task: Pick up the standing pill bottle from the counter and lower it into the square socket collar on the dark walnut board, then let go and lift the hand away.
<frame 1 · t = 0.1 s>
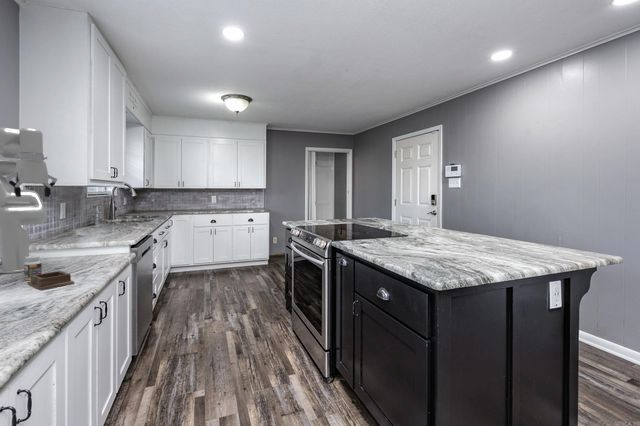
hand: (33, 196, 136), 37 cm above the countertop, tool pointing down, fingers open, 9 cm apart
pill bottle: (33, 279, 138), on the countertop
socket board: (51, 284, 130), on the countertop
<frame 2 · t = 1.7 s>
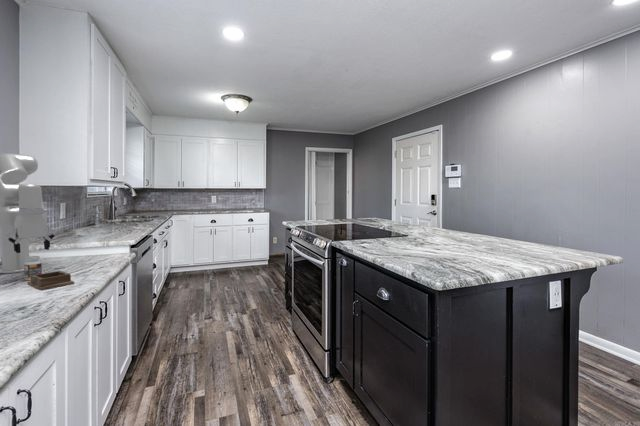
hand: (32, 251, 136), 13 cm above the countertop, tool pointing down, fingers open, 9 cm apart
nothing on the countertop moved.
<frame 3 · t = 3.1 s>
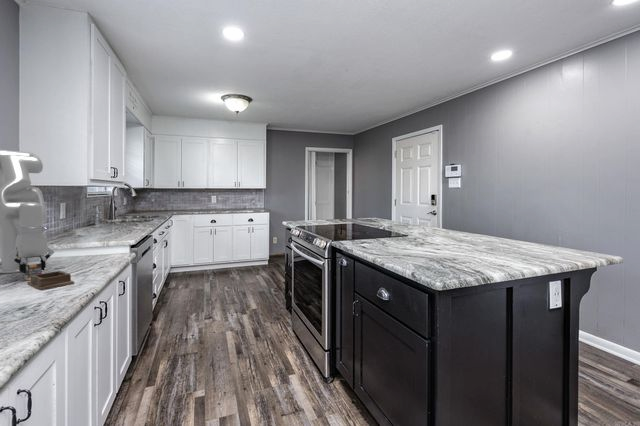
hand: (32, 270, 137), 4 cm above the countertop, tool pointing down, fingers closed on pill bottle, 5 cm apart
pill bottle: (33, 279, 138), on the countertop, touching gripper
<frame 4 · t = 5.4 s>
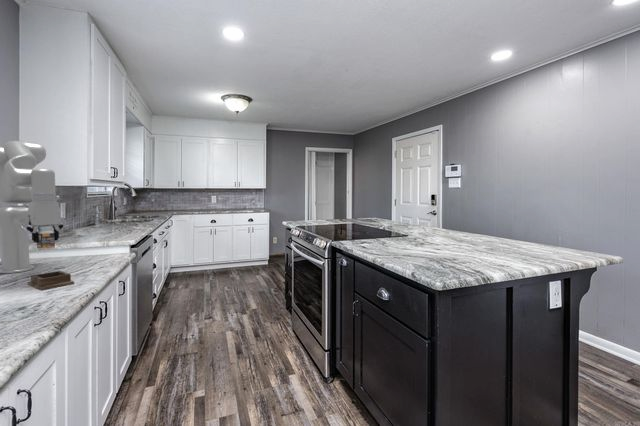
hand: (45, 240, 131), 18 cm above the countertop, tool pointing down, fingers closed on pill bottle, 5 cm apart
pill bottle: (46, 249, 131), point 14 cm above the countertop, touching gripper
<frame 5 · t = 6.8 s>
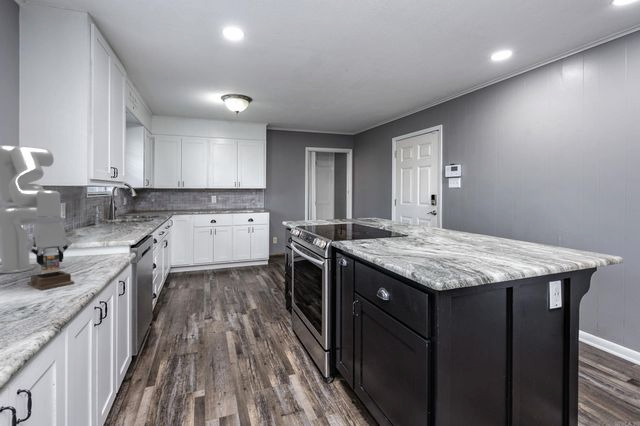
hand: (50, 262, 130), 9 cm above the countertop, tool pointing down, fingers closed on pill bottle, 5 cm apart
pill bottle: (50, 271, 130), point 6 cm above the countertop, touching gripper
when the fingers open (6 cm above the countertop, at t = 7.9 s): pill bottle drops 1 cm, resting on socket board.
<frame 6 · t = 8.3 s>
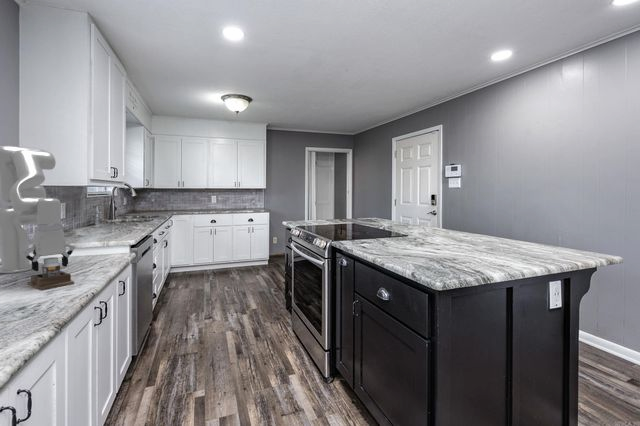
hand: (50, 268, 130), 7 cm above the countertop, tool pointing down, fingers open, 9 cm apart
pill bottle: (51, 282, 131), point 1 cm above the countertop, touching socket board
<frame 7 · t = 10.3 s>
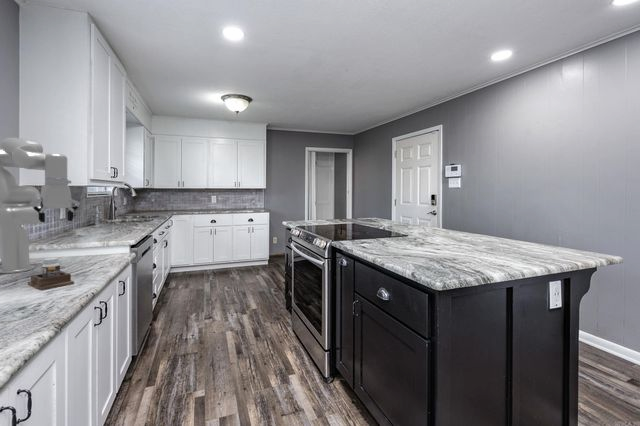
hand: (56, 221, 137), 26 cm above the countertop, tool pointing down, fingers open, 9 cm apart
nothing on the countertop moved.
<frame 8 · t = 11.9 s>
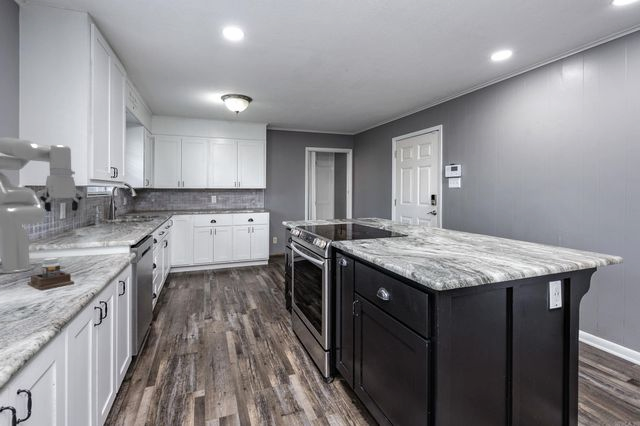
hand: (61, 210, 141), 30 cm above the countertop, tool pointing down, fingers open, 9 cm apart
nothing on the countertop moved.
at the end: pill bottle 0.3 cm off-centre on the socket board, point 0.8 cm above the socket board's base; pill bottle tilted 0°; the gripper is holding nothing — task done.
